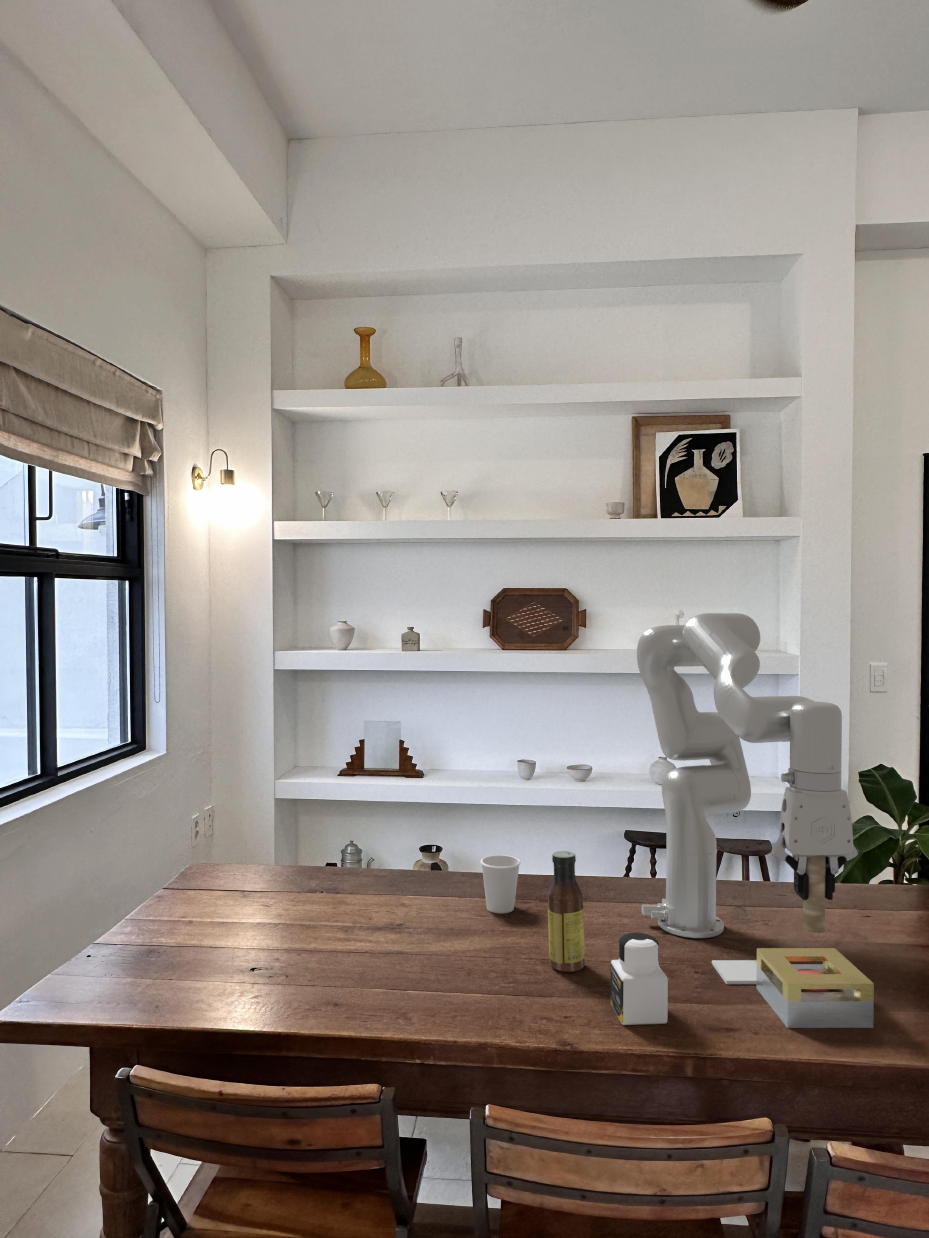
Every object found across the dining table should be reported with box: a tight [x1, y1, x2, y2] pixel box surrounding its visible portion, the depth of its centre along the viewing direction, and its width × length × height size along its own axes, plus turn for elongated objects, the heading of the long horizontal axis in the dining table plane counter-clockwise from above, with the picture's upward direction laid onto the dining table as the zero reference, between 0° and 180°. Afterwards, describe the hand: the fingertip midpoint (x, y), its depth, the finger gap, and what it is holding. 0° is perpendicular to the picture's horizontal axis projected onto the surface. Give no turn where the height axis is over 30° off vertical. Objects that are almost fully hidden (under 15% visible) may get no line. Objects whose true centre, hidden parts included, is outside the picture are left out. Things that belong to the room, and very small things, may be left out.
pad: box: [711, 959, 757, 985], centre depth 145 cm, size 8×8×1 cm
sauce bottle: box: [547, 850, 586, 973], centre depth 148 cm, size 6×6×20 cm
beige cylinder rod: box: [802, 856, 826, 934], centre depth 133 cm, size 3×3×15 cm
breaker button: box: [797, 969, 829, 992], centre depth 133 cm, size 5×5×2 cm
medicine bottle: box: [610, 931, 669, 1026], centre depth 131 cm, size 7×7×12 cm
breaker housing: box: [755, 947, 875, 1029], centre depth 133 cm, size 13×13×7 cm
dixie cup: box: [479, 854, 521, 914], centre depth 176 cm, size 8×8×10 cm
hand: (814, 895), depth 133 cm, fingers closed on beige cylinder rod, 3 cm apart
